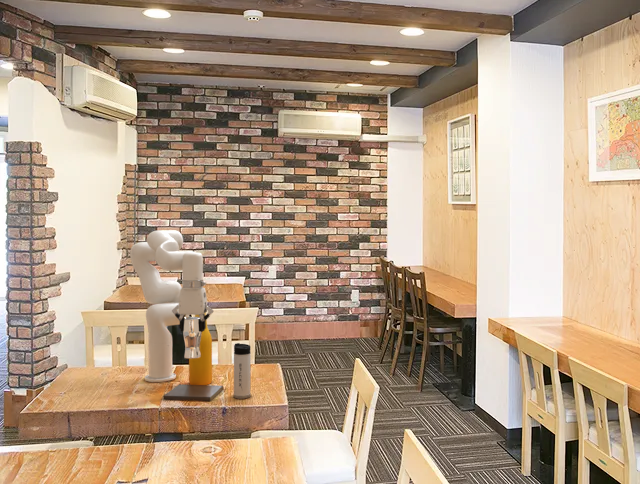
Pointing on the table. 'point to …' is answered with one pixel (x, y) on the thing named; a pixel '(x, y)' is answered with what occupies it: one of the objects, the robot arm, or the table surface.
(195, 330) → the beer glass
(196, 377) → the beer bottle
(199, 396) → the serving board
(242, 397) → the travel mug
